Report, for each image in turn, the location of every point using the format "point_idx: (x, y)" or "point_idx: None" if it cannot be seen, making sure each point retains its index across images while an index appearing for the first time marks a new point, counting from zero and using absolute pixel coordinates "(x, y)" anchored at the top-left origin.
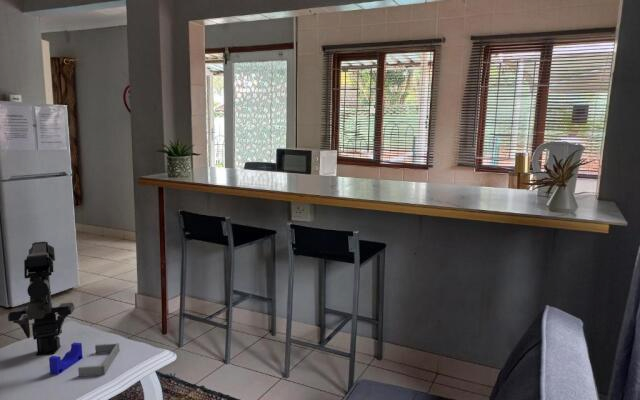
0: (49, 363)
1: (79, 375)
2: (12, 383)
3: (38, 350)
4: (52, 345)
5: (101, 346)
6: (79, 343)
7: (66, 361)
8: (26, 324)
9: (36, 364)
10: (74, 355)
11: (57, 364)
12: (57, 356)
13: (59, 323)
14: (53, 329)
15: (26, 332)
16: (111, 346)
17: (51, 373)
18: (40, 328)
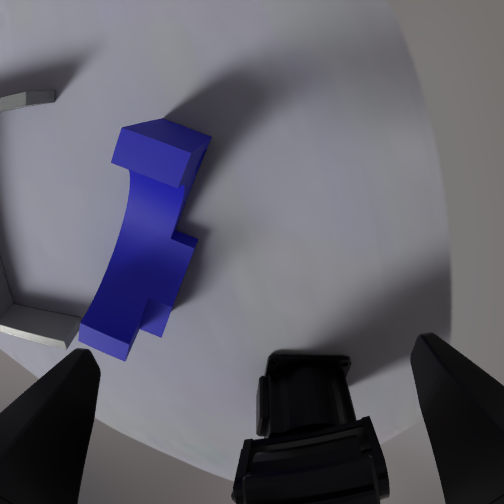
0: (199, 145)
1: (49, 91)
2: (391, 81)
3: (341, 379)
4: (280, 394)
5: (44, 332)
6: (86, 339)
7: (152, 239)
8: (498, 487)
9: (327, 273)
10: (117, 276)
11: (139, 125)
12: (131, 168)
13: None
14: (261, 466)
15: (472, 381)
16: (13, 321)
17: (202, 133)
18: (338, 473)
